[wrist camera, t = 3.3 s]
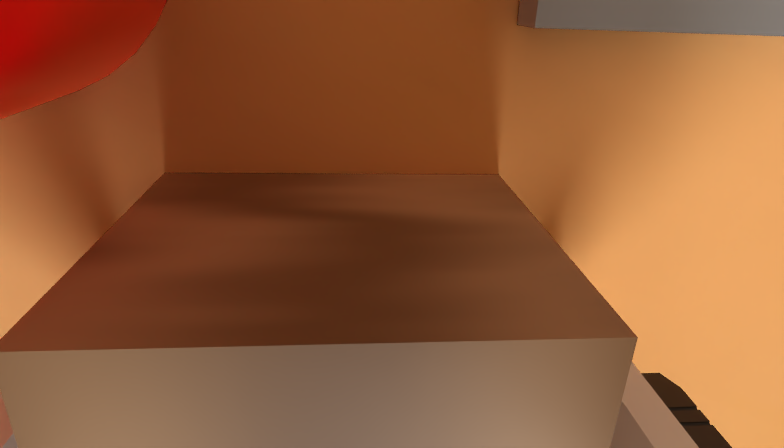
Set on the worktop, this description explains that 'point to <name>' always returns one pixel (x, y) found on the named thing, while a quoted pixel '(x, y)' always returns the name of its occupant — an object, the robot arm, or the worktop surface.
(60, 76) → the mug
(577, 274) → the walnut block
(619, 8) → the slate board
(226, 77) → the worktop surface
